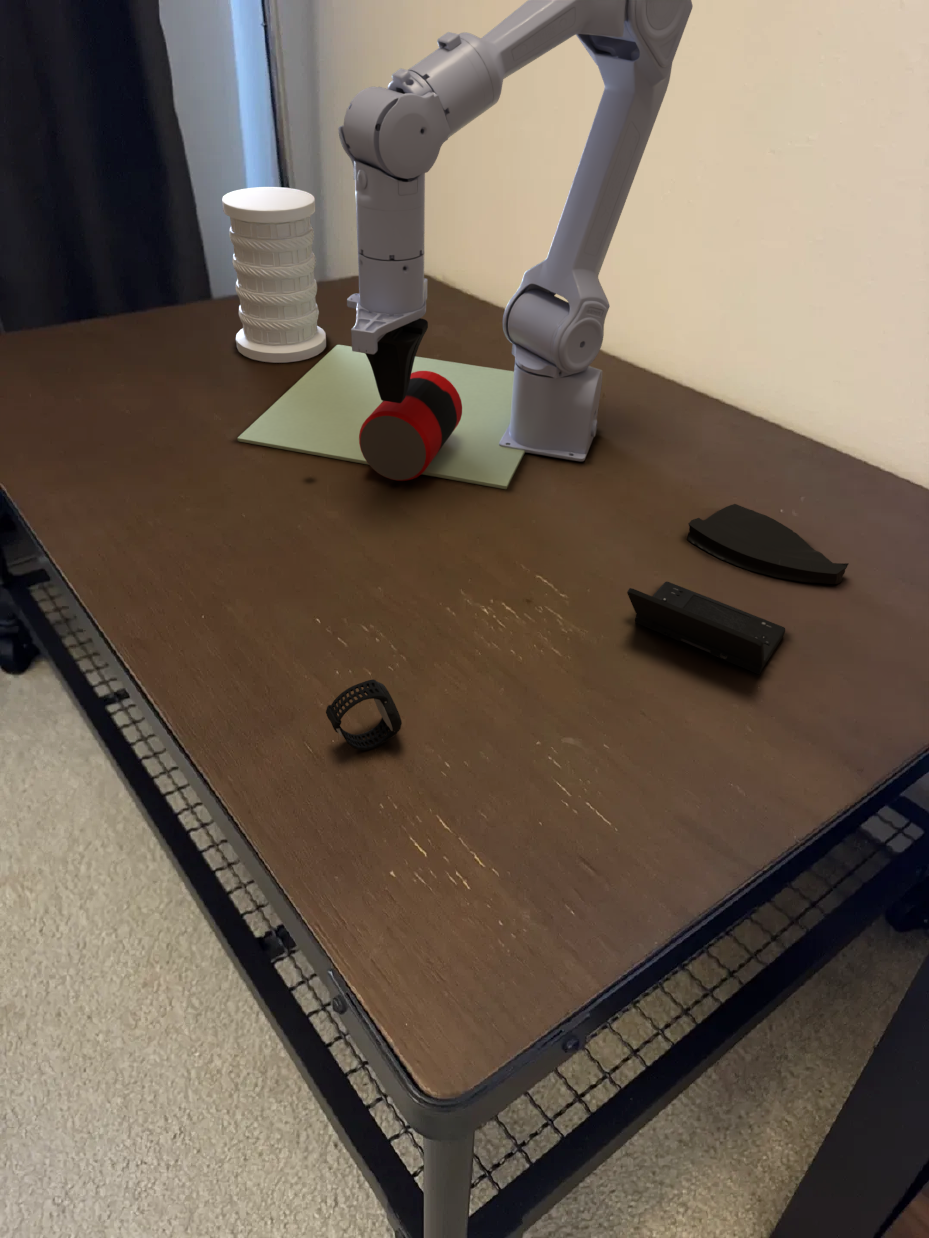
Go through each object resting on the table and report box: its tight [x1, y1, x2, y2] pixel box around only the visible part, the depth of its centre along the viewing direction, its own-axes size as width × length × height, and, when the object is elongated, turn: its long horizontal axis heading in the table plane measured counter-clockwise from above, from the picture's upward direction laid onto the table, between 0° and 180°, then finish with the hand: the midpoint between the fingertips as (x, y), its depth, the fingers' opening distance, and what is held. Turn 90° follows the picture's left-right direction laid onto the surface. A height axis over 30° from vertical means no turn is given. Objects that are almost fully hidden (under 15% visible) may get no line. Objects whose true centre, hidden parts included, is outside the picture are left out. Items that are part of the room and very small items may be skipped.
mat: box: [236, 344, 526, 490], centre depth 105 cm, size 30×28×1 cm
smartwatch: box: [325, 678, 403, 751], centre depth 63 cm, size 4×5×5 cm
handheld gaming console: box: [626, 581, 786, 675], centre depth 72 cm, size 12×7×10 cm
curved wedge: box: [686, 503, 850, 585], centre depth 84 cm, size 8×14×2 cm, turn 41°
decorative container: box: [221, 186, 327, 364], centre depth 113 cm, size 12×12×18 cm
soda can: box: [359, 371, 462, 482], centre depth 94 cm, size 8×8×12 cm
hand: (393, 399), depth 86 cm, fingers closed
